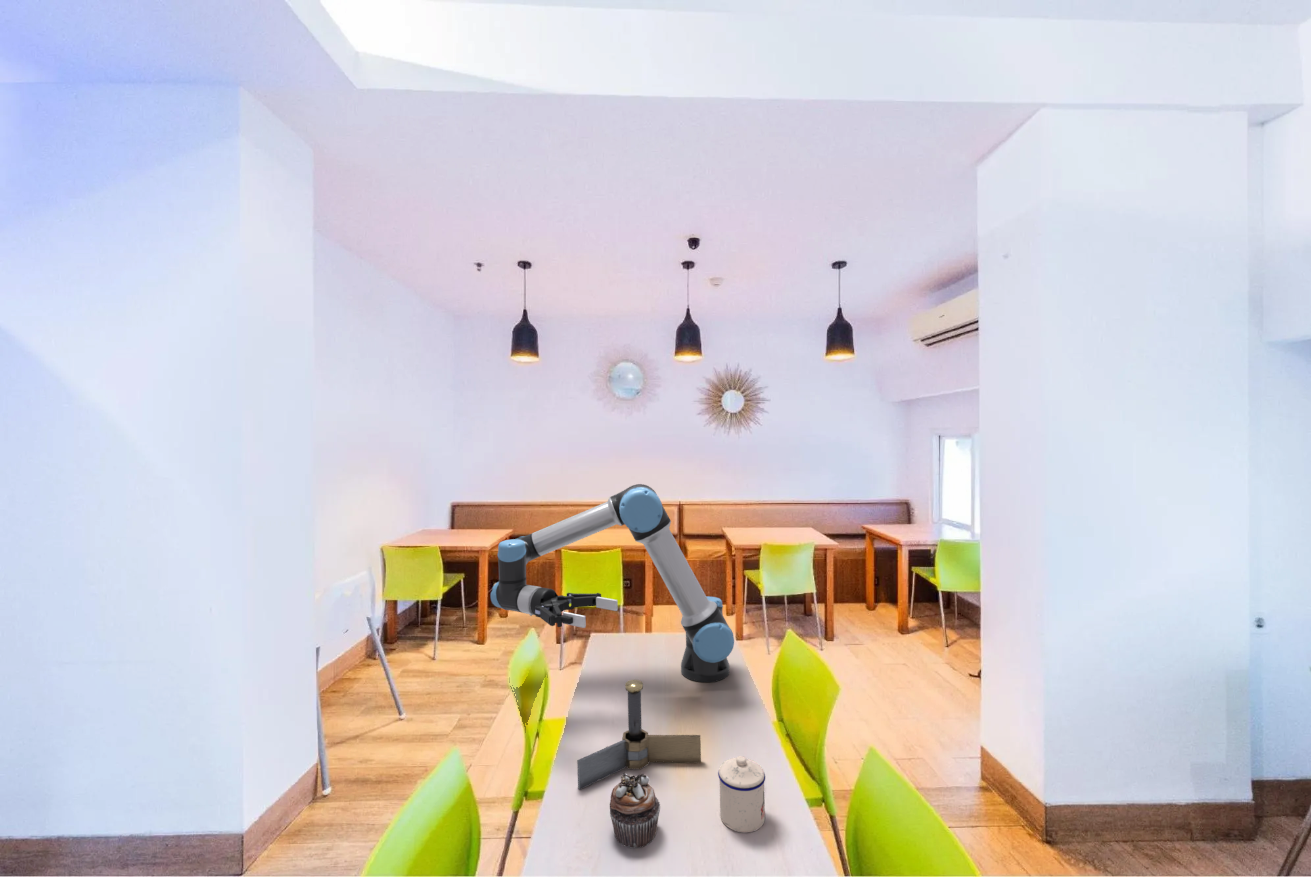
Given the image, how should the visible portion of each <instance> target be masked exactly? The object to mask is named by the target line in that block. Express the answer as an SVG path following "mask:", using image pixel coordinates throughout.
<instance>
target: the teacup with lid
mask: <svg viewBox="0 0 1311 877" xmlns="http://www.w3.org/2000/svg"><path fill="white" fill-rule="evenodd" d="M717 776H718V778H719V816H720V820H722V823H723V824H724V825H725V826H726V827H728V828H729V829H730V830H733V831H734V832H739V833H752V832H755V831H756V832H757V830H759V829H760V828H762V826H763V825H764V823H765V819H766V813H765V812H766V808H765V782H766V774H765V770H764V768H762V766H761V764H759V763H758V762H756V761H754V760H752V759H749V758H747V757H745V756H743V755H738V756H737V757H732V758H728V759H727V760H725V761H723V762H722V763H721V764H720V766H719V768H718V772H717Z"/></svg>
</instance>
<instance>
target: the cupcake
mask: <svg viewBox="0 0 1311 877" xmlns="http://www.w3.org/2000/svg"><path fill="white" fill-rule="evenodd" d="M660 811H661V804H660V801H659V799H658V798H657V796H656V793H655V789H654V788H653V786H652V785H651V784H650V778H649V776H647V775H646V774H645V773H643V772H642V773H640V774H638V775H634V774H633V775H631V776H630V775H629V774H627V773H626V772H625V771H624V772H623V773H622V774H621V776H620V782H618V783H617V784H616V785H615V786H614V787H613V788H612V790H611V794H610V802H609V815H610V820H611V824H612V827H613V832H614V837H615V838H616V841H617V842H618V843H620V845H622V846H624V847H627V848H633V849H637V848H638V849H640V848H641V847H642V846H643V847H645V846H647V845H649V844H650V843H651V842H653V841H652V840H654V838H656V834H657V828H658V822H659V817H660Z"/></svg>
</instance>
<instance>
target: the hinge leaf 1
mask: <svg viewBox="0 0 1311 877" xmlns="http://www.w3.org/2000/svg"><path fill="white" fill-rule="evenodd" d="M642 740H643V739H642ZM647 756H648V747H647V748H645V749H643V750H642V751H640V752H635V751H628V750H626V741H625V739H624V740H622V739H621V740H620V741H617V742H615V743H613V744H611V745H609V746H605V747H604V748H602V749H600V750H597V751H595V752H593V753H591V754H588V755H586V756H584V757H581V758H580V759H577V762H576V763H577V768H576V769H577V788H578V789H579V790H582V789H584V788H586V787H588V786H590V785H592V784H594V783H596V782H598V781H600V780H602V779H605V778H606V777H609V776H611V775H613V774H615V773H617V772H620V771H622V770H623V769H625V768H626V769H627V762H626V759H628V760H637V761H639V760H641V759H643V758H645V757H647ZM581 788H582V789H581Z"/></svg>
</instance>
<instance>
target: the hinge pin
mask: <svg viewBox="0 0 1311 877" xmlns="http://www.w3.org/2000/svg"><path fill="white" fill-rule="evenodd" d="M624 685H625V687H624V688H625V690H626V692H627V718H628V719H627V720H628V723H627V724H628V726H627V727H628V730H629V741H630V742H639V741H641V740H642V728H643V727H642V726H643V725H642V724H643V723H642V690H643V688H644V682H643V681H641V679H640V680H639V679H629V680H627V681H626V682H625V684H624Z"/></svg>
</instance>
